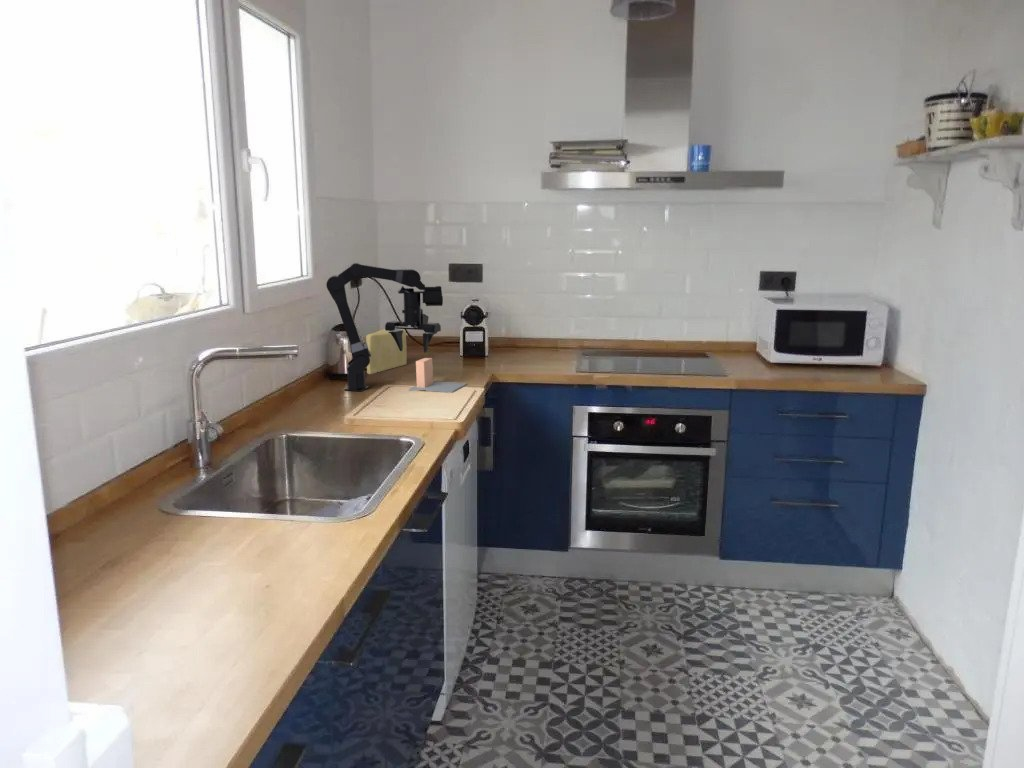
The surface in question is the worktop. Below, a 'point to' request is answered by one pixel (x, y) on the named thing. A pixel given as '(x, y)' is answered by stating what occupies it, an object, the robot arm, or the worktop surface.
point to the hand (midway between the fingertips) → (413, 351)
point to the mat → (441, 386)
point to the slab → (424, 372)
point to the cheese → (385, 351)
